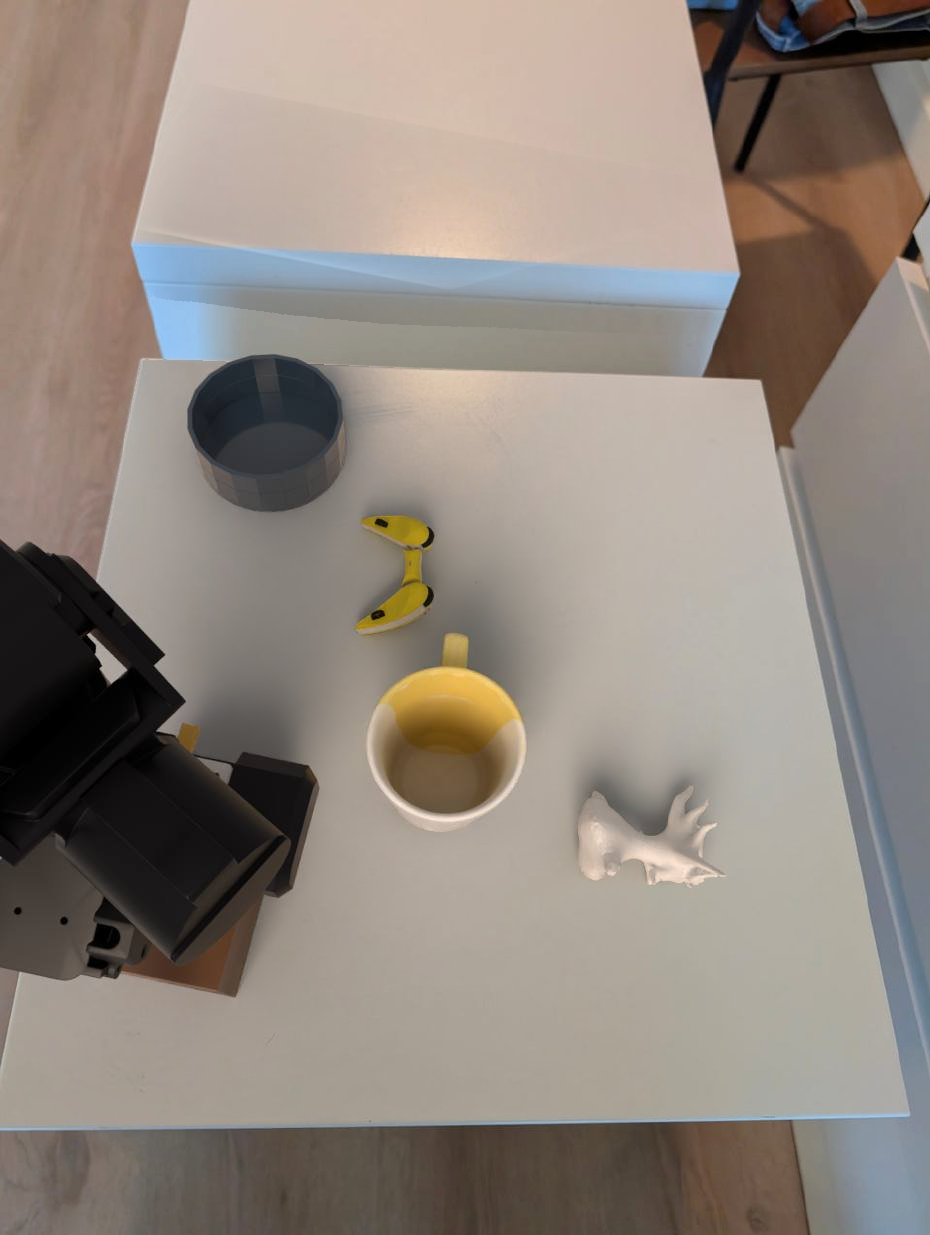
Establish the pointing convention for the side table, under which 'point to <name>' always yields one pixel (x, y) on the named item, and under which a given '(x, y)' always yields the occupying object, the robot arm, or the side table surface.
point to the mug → (446, 743)
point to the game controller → (413, 593)
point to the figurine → (644, 843)
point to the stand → (205, 961)
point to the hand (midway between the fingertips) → (157, 830)
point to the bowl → (268, 432)
